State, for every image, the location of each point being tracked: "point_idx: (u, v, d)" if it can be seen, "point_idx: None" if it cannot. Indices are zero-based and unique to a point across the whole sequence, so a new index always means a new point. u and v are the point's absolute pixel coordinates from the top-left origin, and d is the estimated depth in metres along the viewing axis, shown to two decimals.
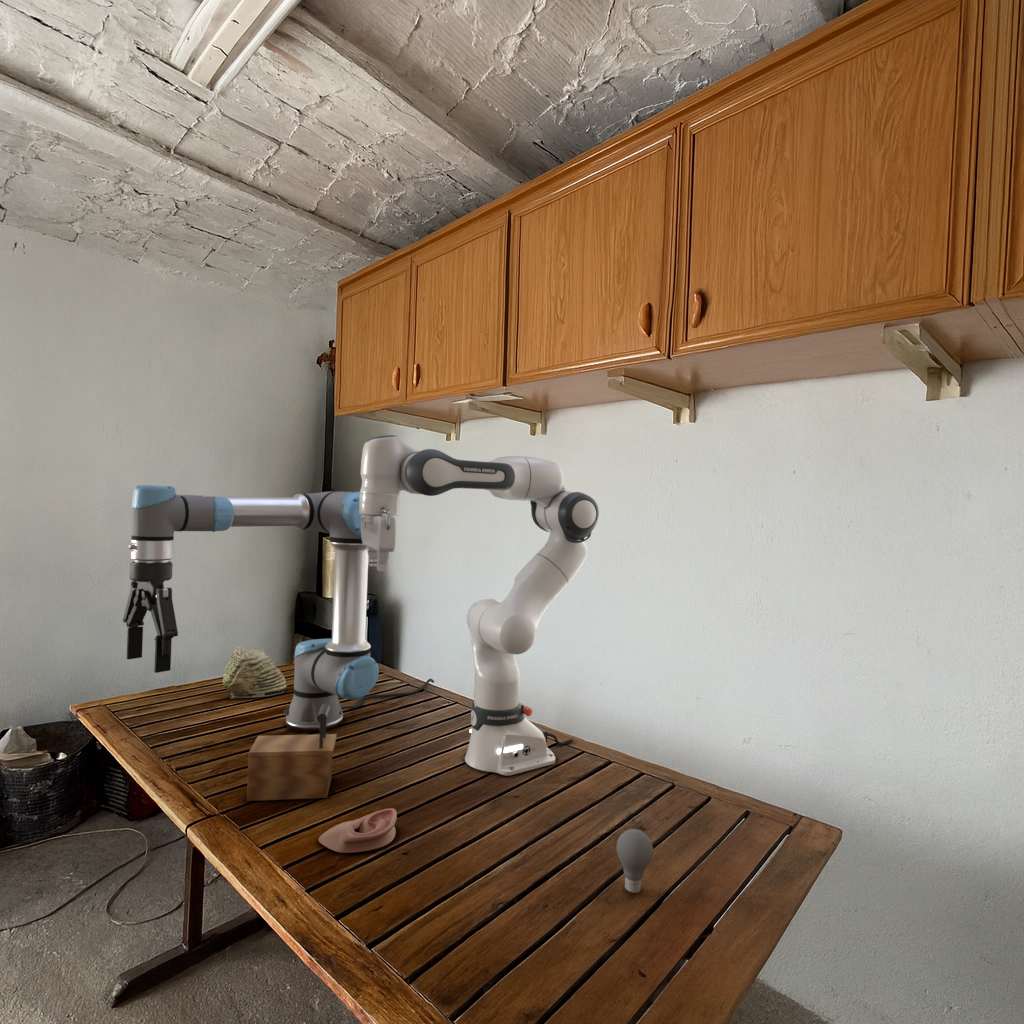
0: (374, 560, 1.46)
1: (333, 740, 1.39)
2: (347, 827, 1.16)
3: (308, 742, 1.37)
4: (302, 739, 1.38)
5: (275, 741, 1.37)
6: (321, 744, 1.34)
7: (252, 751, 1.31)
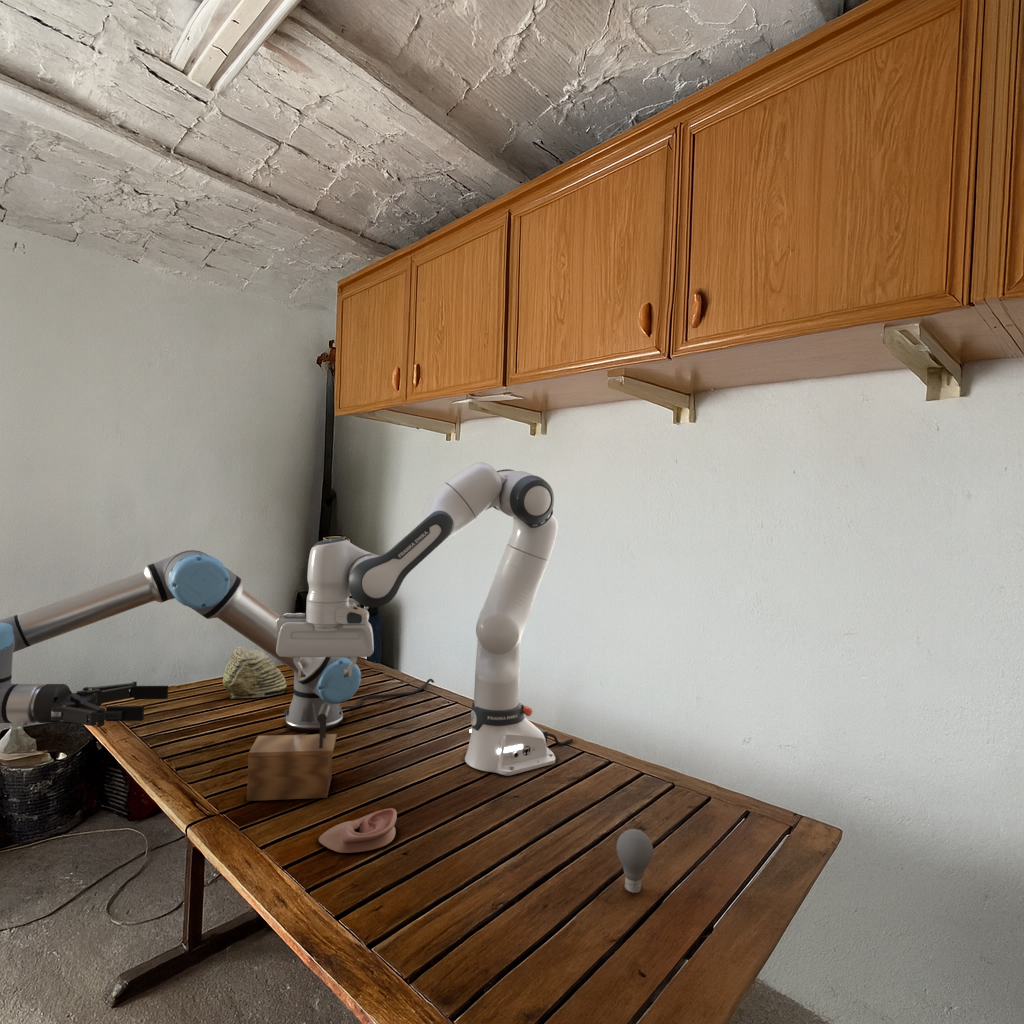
0: None
1: (333, 740, 1.39)
2: (347, 827, 1.16)
3: (308, 742, 1.37)
4: (302, 739, 1.38)
5: (275, 741, 1.37)
6: (321, 744, 1.34)
7: (252, 751, 1.31)
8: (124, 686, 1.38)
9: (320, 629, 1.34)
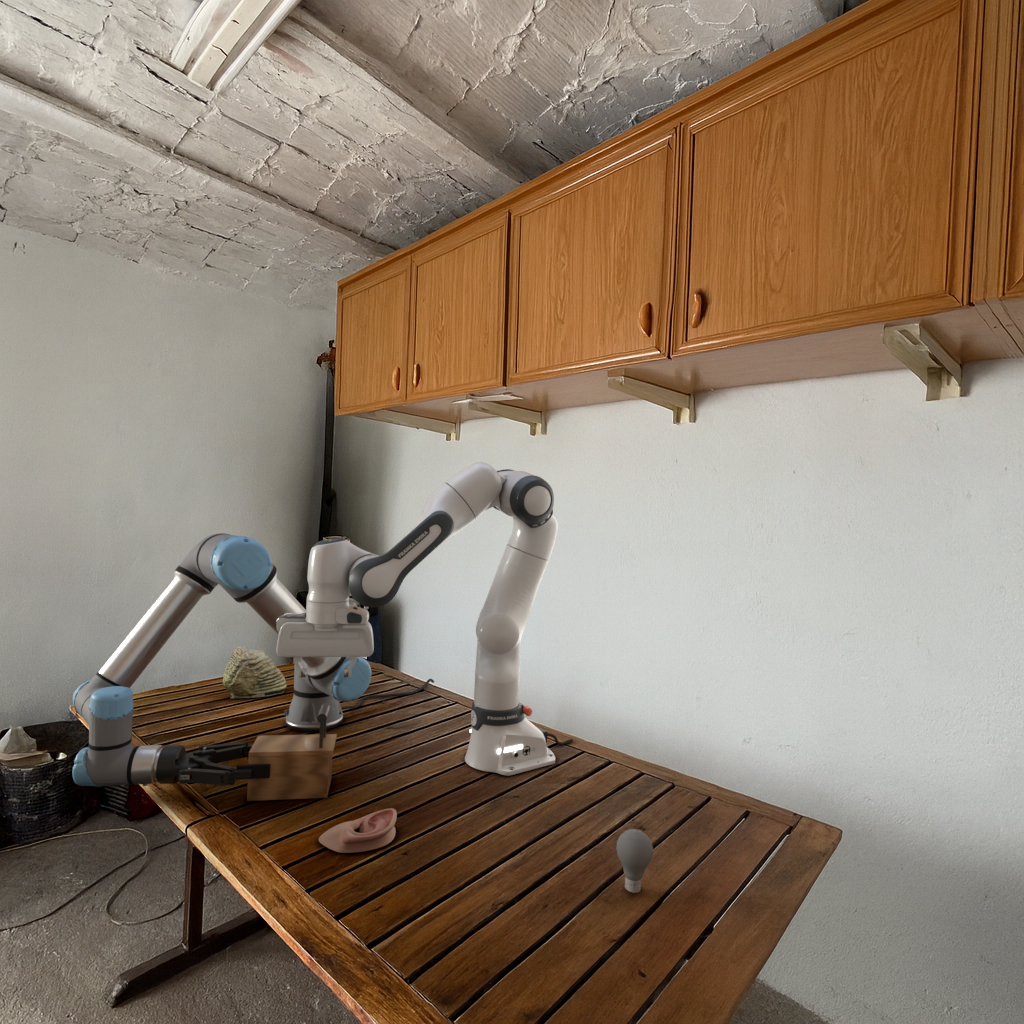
0: None
1: (333, 740, 1.39)
2: (347, 827, 1.16)
3: (308, 742, 1.37)
4: (302, 739, 1.38)
5: (275, 741, 1.37)
6: (321, 744, 1.34)
7: (252, 751, 1.31)
8: (235, 745, 1.41)
9: (320, 629, 1.34)
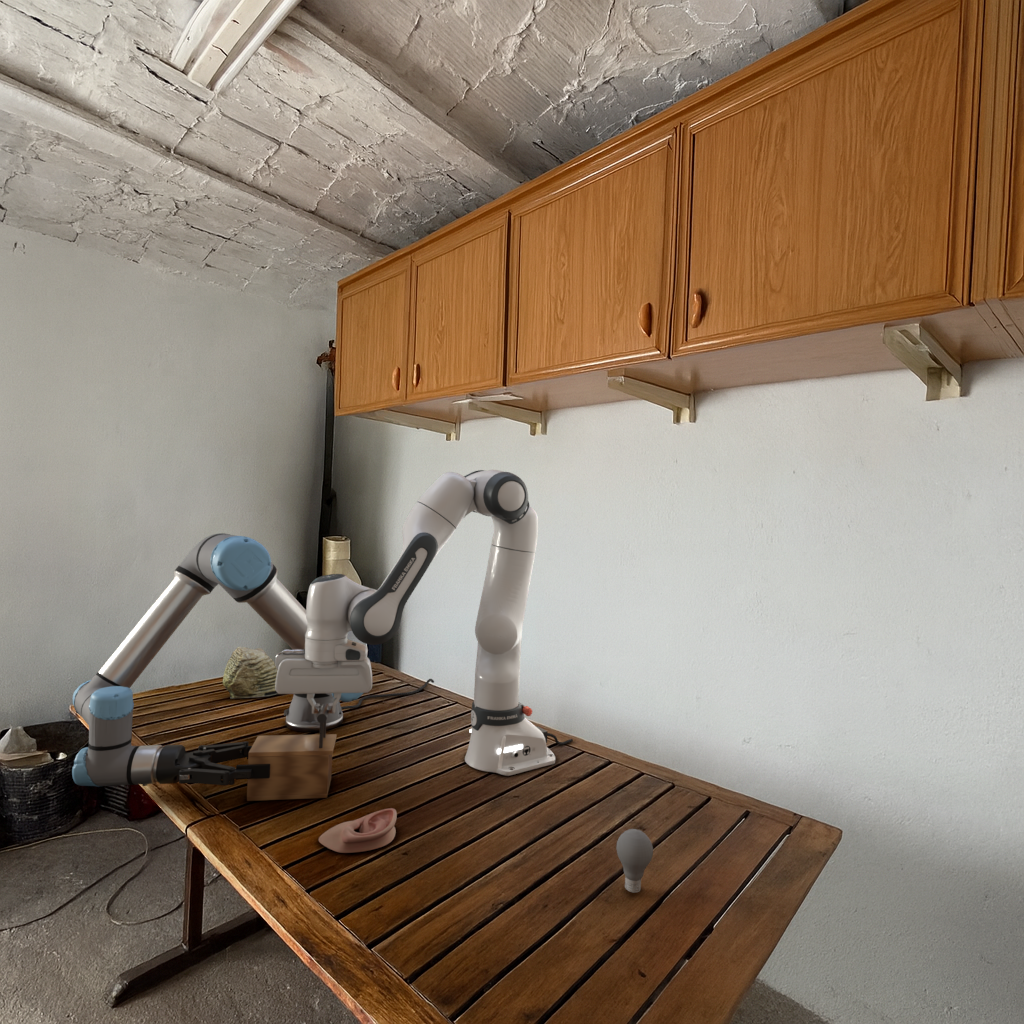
0: None
1: (333, 740, 1.39)
2: (347, 827, 1.16)
3: (308, 742, 1.37)
4: (302, 739, 1.38)
5: (275, 741, 1.37)
6: (321, 744, 1.34)
7: (252, 751, 1.31)
8: (235, 745, 1.41)
9: (319, 666, 1.34)
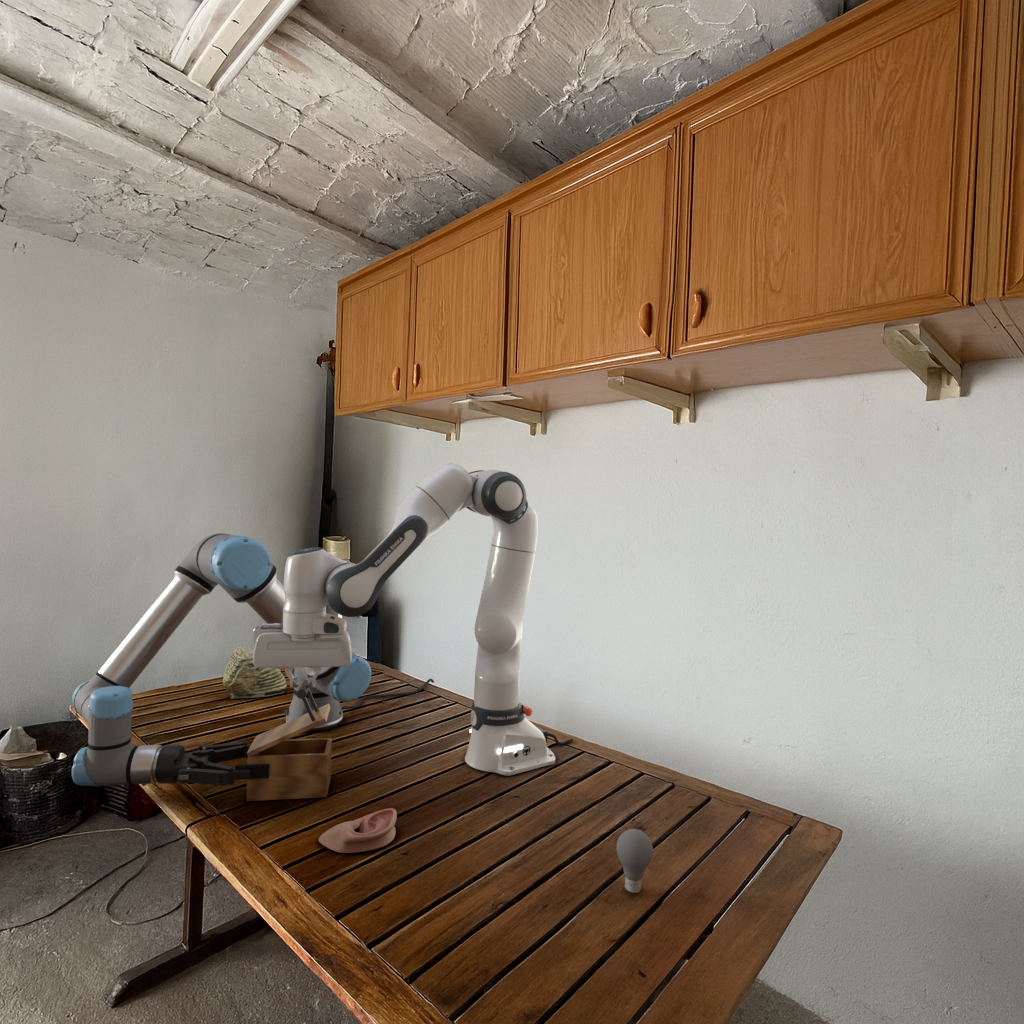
0: None
1: (325, 709, 1.38)
2: (347, 827, 1.16)
3: (302, 721, 1.37)
4: (297, 721, 1.38)
5: (271, 733, 1.36)
6: (312, 717, 1.34)
7: (250, 750, 1.31)
8: (235, 745, 1.41)
9: (297, 639, 1.33)
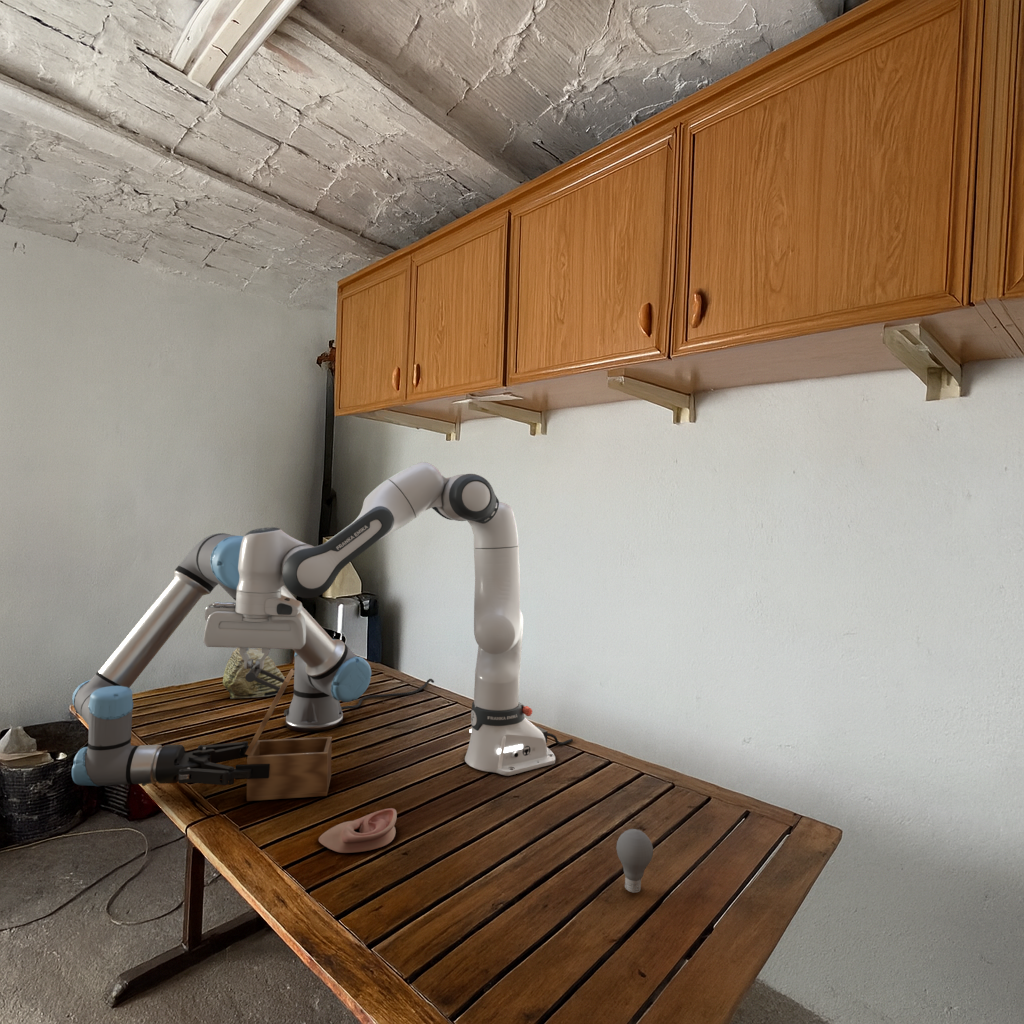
0: None
1: None
2: (347, 827, 1.16)
3: None
4: None
5: None
6: (276, 687, 1.32)
7: None
8: (235, 745, 1.41)
9: (249, 619, 1.31)
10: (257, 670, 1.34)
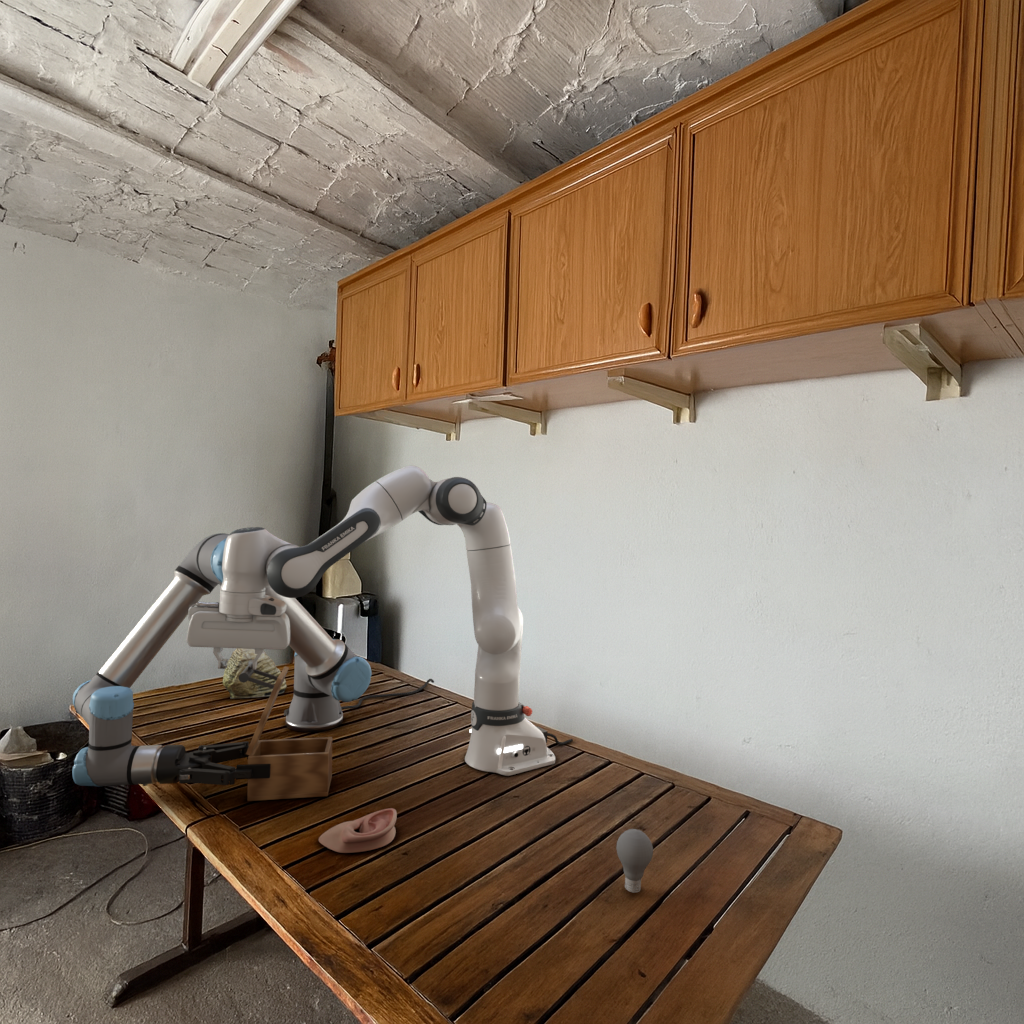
0: None
1: (281, 672, 1.36)
2: (347, 827, 1.16)
3: None
4: None
5: None
6: (270, 685, 1.32)
7: (247, 750, 1.31)
8: (235, 745, 1.41)
9: (232, 619, 1.31)
10: (250, 670, 1.34)
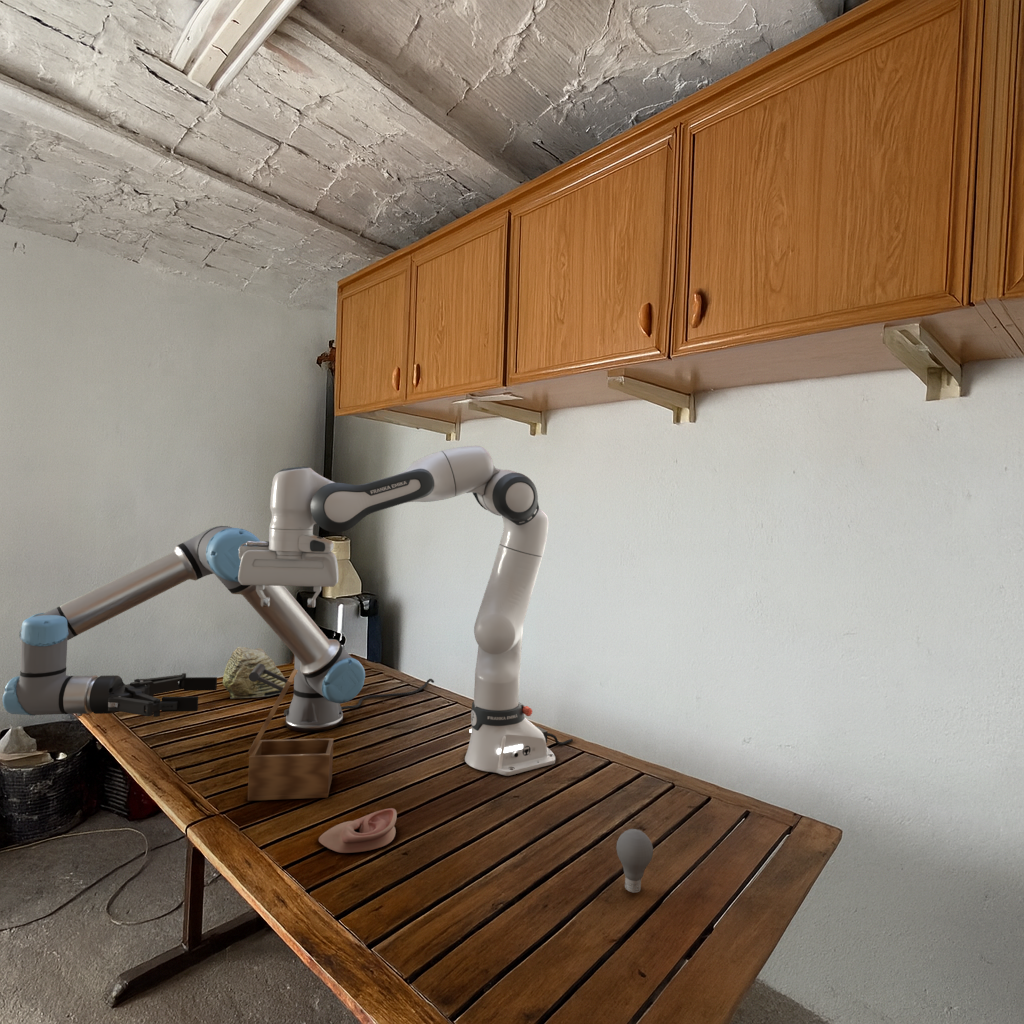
0: None
1: None
2: (347, 827, 1.16)
3: None
4: None
5: None
6: (279, 687, 1.32)
7: (249, 749, 1.31)
8: (174, 678, 1.39)
9: (282, 557, 1.32)
10: (260, 670, 1.34)
